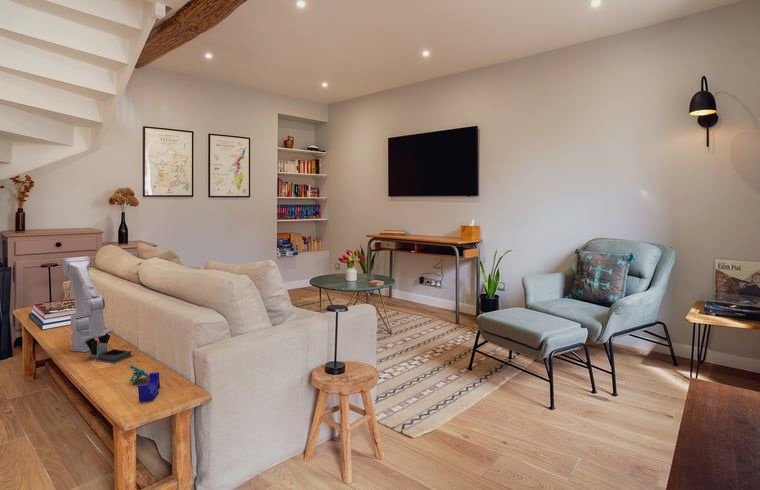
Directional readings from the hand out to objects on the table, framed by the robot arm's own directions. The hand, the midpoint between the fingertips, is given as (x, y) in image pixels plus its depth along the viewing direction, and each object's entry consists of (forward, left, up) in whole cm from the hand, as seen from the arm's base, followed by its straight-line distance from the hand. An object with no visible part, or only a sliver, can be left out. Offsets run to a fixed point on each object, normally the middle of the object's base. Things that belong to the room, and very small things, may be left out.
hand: (98, 352), depth 202 cm
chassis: (+10, 0, -2) cm, 10 cm away
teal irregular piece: (+41, -15, -2) cm, 44 cm away
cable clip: (+54, -23, -2) cm, 58 cm away
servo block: (0, 0, -1) cm, 1 cm away
